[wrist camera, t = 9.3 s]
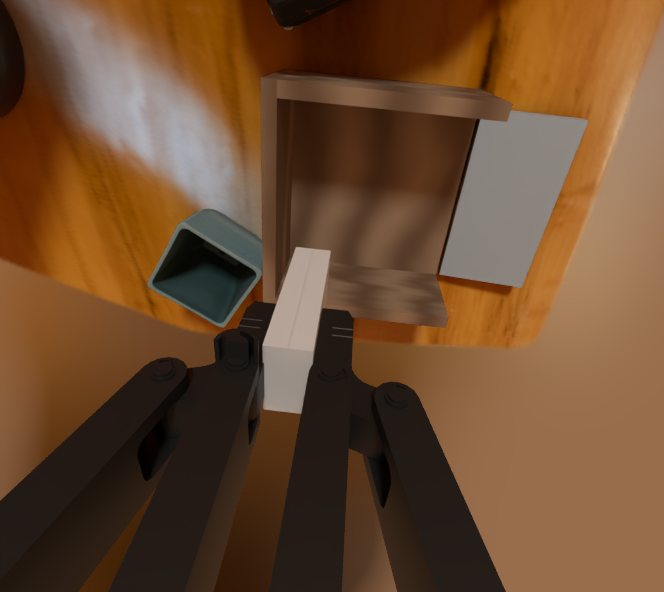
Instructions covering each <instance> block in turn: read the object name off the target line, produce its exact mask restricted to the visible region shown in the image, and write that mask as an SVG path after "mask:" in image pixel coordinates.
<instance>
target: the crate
mask: <svg viewBox="0 0 664 592" xmlns="http://www.w3.org/2000/svg"><path fill="white" fill-rule="evenodd" d="M260 81H261V173H262V265H263V302H266V303H275V304H277V301H278V298H279V295H280V292H281V290H282V287H283V284H284V281H285V278H286V275H287V272H288V269H289V266H290V263H291V260H292V257H293V254H294V251H295V249H296V247H301V248H310V249H319V250H329V251H331V254H330V265H329V276H328V287H327V298H326V307H325V308H328V309H337V310H346V311H349V312H350V314H351V316H352V317H353V318H362V319H371V320H380V321H388V322H397V323H406V324H415V325H424V326H433V327H441V328H446V324H447V321H448V315H447V311H446V308H445V304H444V301H443V297H442V294H441V290H440V287H439V283H438V280H437V276H436V272H437V268H438V264H439V261H440V257H441V253H442V249H443V245H444V241H445V238H446V234H447V230H448V226H449V222H450V218H451V214H452V211H453V207H454V203H455V199H456V195H457V191H458V188H459V184H460V180H461V176H462V172H463V168H464V164H465V161H466V157H467V153H468V149H469V145H470V141H471V138H472V134H473V130H474V126H475V122H476V119H483V120H493V121H502V122H507V121H508V118H509V114H510V111H511V108H512V103H510V102H508V101H505V100H503V99H501V98H499V97H497V96H494V95H492V94H490V93H488V92H486V91H483V90H481V89H472V88H462V87H453V86H443V85H433V84H423V83H414V82H404V81H394V80H384V79H375V78H365V77H355V76H345V75H336V74H326V73H316V72H306V71H297V70H287V69H283V70H280V71H278V72H275V73H272V74H269V75H267V76H264V77H261V78H260Z"/></svg>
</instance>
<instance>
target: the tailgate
mask: <svg viewBox="0 0 664 592" xmlns="http://www.w3.org/2000/svg"><path fill="white" fill-rule="evenodd" d="M587 124H588V120H585V119H581V118H572V117H564V116H555V115H547V114H538V113H529V112H521V111H512V110H511V111H510V114H509V118H508V121H507V122H502V121H493V120H483V119H478V123H477V126H476V130H475V134H474V138H473V142H472V145H471V149H470V153H469V157H468V161H467V164H466V168H465V172H464V176H463V180H462V184H461V187H460V191H459V195H458V199H457V203H456V206H455V210H454V214H453V218H452V222H451V225H450V229H449V233H448V237H447V241H446V244H445V248H444V252H443V256H442V260H441V264H440V267H439V275H445V276H451V277H458V278H464V279H470V280H476V281H482V282H489V283H495V284H501V285H507V286H514V287H520V288H522V285H523V283H524V280H525V278H526V275H527V273H528V270H529V268H530V265H531V263H532V260H533V258H534V255H535V253H536V250H537V248H538V245H539V243H540V240H541V238H542V235H543V233H544V230H545V228H546V226H547V223H548V221H549V218H550V216H551V213H552V211H553V208H554V206H555V203H556V201H557V198H558V196H559V193H560V191H561V188H562V186H563V183H564V181H565V178H566V176H567V173H568V171H569V168H570V166H571V163H572V161H573V158H574V156H575V153H576V151H577V148H578V146H579V143H580V141H581V138H582V136H583V133H584V131H585V128H586V126H587Z"/></svg>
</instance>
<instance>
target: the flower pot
mask: <svg viewBox="0 0 664 592" xmlns="http://www.w3.org/2000/svg"><path fill="white" fill-rule="evenodd" d="M220 250H222V251H223V252H224V253H222V252H221V251H220ZM262 273H263V265H262V241H261V239H260V238H258V237H257V236H256V235H255V234H253V233H252V232H250V231H248V230H247V229H245V228H244V227H242V226H241V225H239V224H238V223H236V222H235V221H233V220H231V219H230V218H229V217H227V216H226V215H224V214H222V213H220V212H218V211H216V210H212V209H203V210H200V211H198V212H197V213H195V214H193V215H192V216H190V217H188V218H187V219H185V220H184V221H182V222H181V223H179V224H178V225H177V227H176V229H175V231H174V233H173V235H172V237H171V239H170V241H169V243H168V245H167V247H166V249H165V251H164V253H163V255H162V256H161V258H160V260H159V262H158V264H157V266H156V268H155V269H154V271H153V273H152V275H151V277H150V278H149V280H148V284H147V285H148V287H149V288H150V289H152V290H154V291H155V292H157V293H159V294H161V295H163V296H165V297H166V298H168V299H170V300H172V301H174V302H175V303H177V304H179V305H181V306H183V307H184V308H186V309H188V310H190V311H192V312H194V313H195V314H197V315H198V316H200V317H202V318H204V319H206V320H207V321H209V322H211V323H212V324H214V325H216V326H218V327H222V328H223V327H225V326H226V325H227V324H228V322H229V321H230V319H231V318H232V316H233V315H234V314H235V312H236V311H237V309H238V308H239V307H240V305H241V304H242V303H243V301H244V300H245V298H246V297H247V296H248V294H249V293H250V292H251V290H252V289H253V288H254V286H255V285H256V284H257V282H258V281H259V280H260V278H261V277H262Z"/></svg>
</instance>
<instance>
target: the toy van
mask: <svg viewBox="0 0 664 592" xmlns="http://www.w3.org/2000/svg"><path fill="white" fill-rule="evenodd" d="M267 1H268V3H269V6H270V11H271V13H272V15H274V17H275V19H276V20H277V22H278V24H279V25H280V26H282V27H283V28H284V29H285V30H291V29H293V26H297V25H300V24H302V23H304V22H307V21H309V20H311V19H313V18H314V17H317V16H319V15H321V14H324V13H326V12H328V11H329V10H331V9H333V8H335V7H337V6H339V5H341V4H343V3H344V2H346V1H348V0H267ZM288 26H289V27H288Z"/></svg>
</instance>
